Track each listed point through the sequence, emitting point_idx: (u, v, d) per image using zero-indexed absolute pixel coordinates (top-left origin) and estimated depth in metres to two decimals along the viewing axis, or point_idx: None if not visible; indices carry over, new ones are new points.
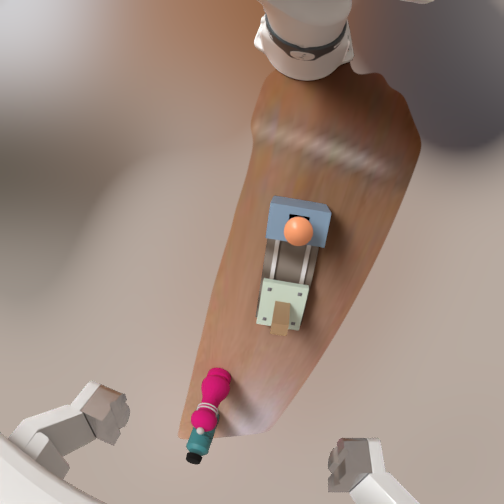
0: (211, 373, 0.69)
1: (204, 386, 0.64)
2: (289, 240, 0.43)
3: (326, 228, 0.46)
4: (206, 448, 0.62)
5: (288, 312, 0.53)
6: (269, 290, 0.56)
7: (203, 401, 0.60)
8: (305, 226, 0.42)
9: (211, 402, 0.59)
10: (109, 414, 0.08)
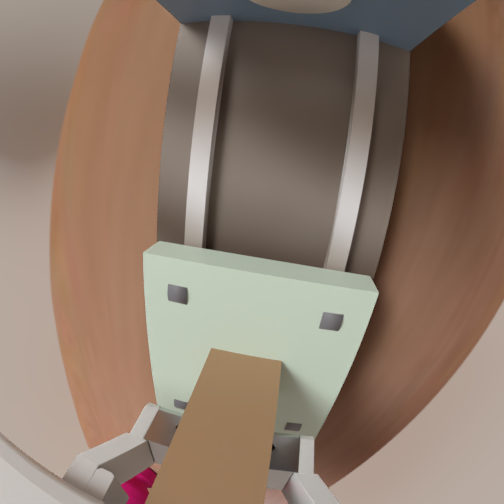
0: None
1: None
2: None
3: None
4: None
5: (267, 428, 0.08)
6: (177, 299, 0.11)
7: None
8: None
9: None
10: None
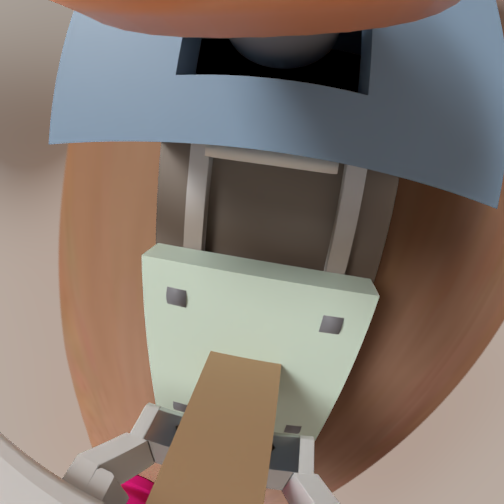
0: None
1: None
2: None
3: (497, 59, 0.03)
4: None
5: (266, 432, 0.08)
6: (176, 302, 0.11)
7: None
8: None
9: None
10: None
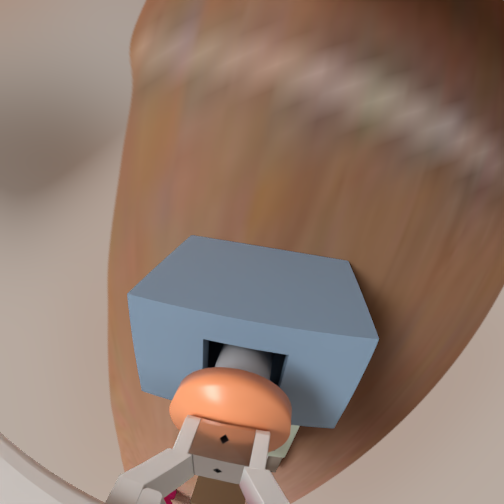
0: None
1: None
2: None
3: (350, 386, 0.11)
4: None
5: None
6: None
7: None
8: (256, 416, 0.08)
9: None
10: (221, 450, 0.07)
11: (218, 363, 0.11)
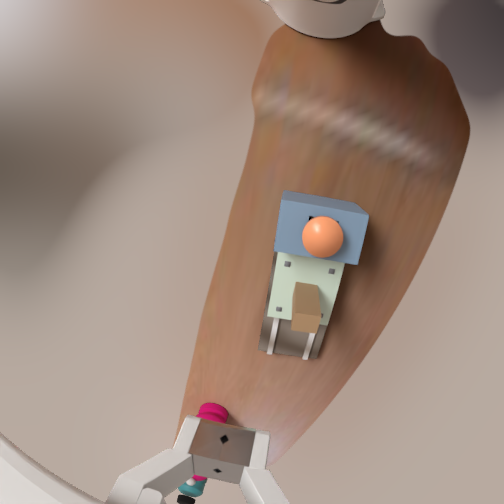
0: (204, 409, 0.53)
1: None
2: (310, 249, 0.30)
3: (361, 237, 0.31)
4: (200, 490, 0.47)
5: (317, 297, 0.35)
6: (287, 265, 0.38)
7: None
8: (333, 230, 0.29)
9: None
10: (221, 450, 0.07)
11: None
